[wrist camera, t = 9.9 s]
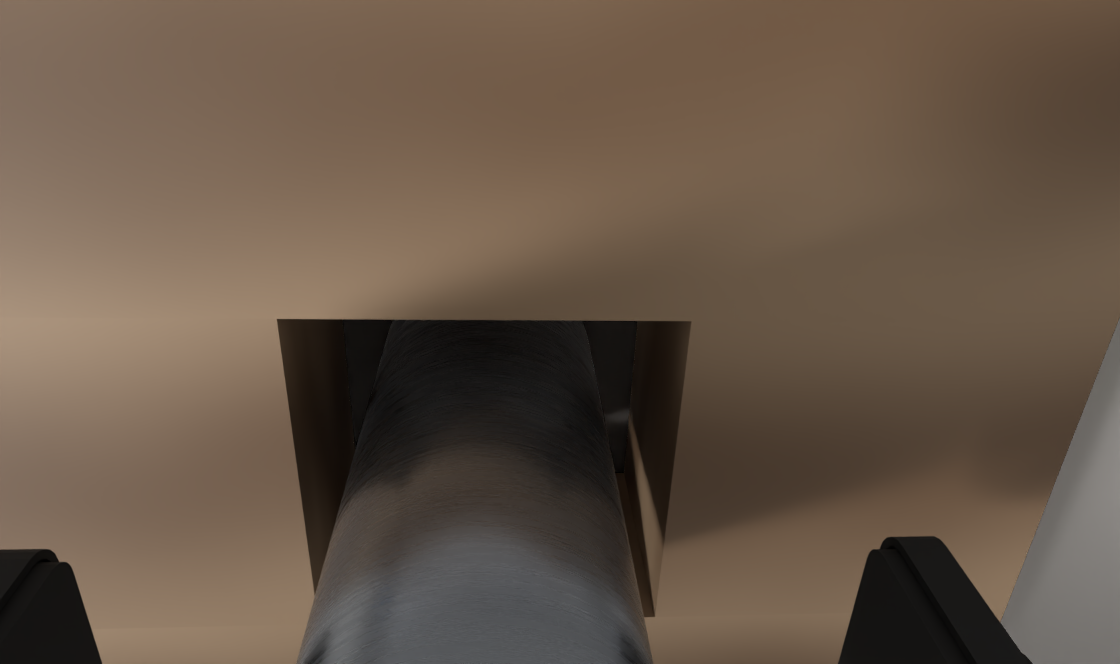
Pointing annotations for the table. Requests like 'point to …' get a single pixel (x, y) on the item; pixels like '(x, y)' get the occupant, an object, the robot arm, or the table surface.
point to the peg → (480, 509)
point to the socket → (551, 282)
